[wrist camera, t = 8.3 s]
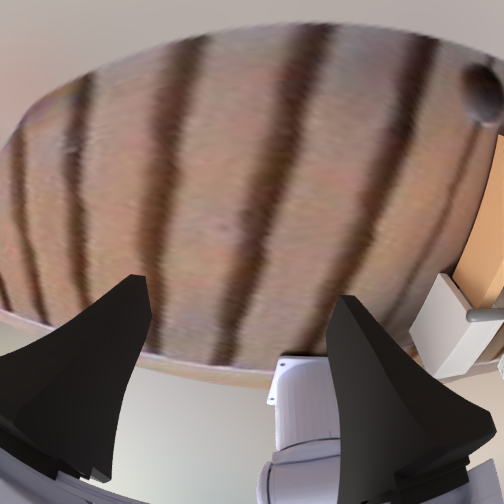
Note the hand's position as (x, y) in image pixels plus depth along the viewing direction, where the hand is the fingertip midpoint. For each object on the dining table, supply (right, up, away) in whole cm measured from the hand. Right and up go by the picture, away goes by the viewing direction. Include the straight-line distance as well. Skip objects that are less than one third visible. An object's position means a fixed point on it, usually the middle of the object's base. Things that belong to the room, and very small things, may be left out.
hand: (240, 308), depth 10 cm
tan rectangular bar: (+19, +5, +7) cm, 21 cm away
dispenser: (+19, -3, +12) cm, 22 cm away
